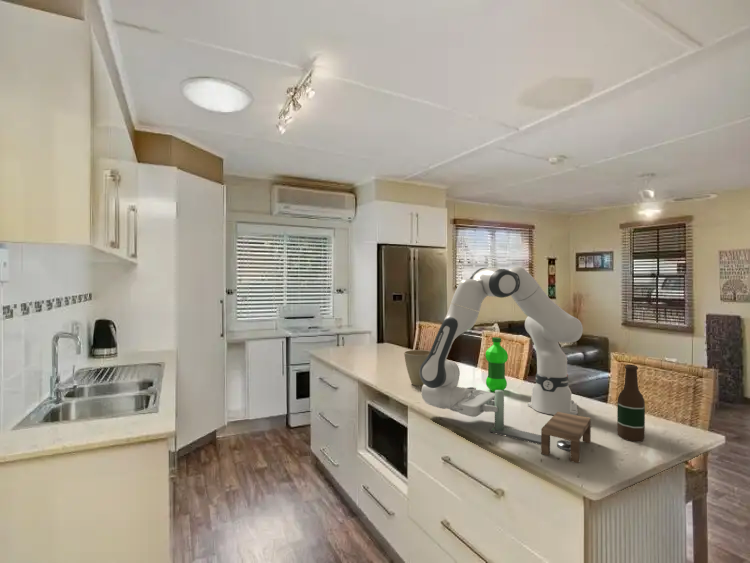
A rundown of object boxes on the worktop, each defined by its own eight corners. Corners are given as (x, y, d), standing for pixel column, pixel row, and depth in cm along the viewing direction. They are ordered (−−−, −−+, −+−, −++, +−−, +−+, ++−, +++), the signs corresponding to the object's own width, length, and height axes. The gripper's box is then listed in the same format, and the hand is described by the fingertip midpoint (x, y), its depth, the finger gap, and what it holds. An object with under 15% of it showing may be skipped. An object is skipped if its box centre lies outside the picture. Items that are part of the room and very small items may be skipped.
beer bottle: (614, 431, 136) (615, 362, 136) (641, 435, 133) (641, 364, 133) (619, 440, 129) (620, 366, 129) (647, 443, 126) (648, 368, 126)
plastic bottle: (482, 387, 192) (482, 336, 192) (503, 387, 192) (503, 336, 193) (488, 393, 182) (489, 339, 182) (511, 393, 182) (511, 339, 183)
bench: (557, 433, 134) (557, 411, 134) (590, 441, 127) (590, 418, 127) (541, 453, 118) (541, 428, 118) (578, 463, 112) (578, 436, 112)
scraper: (490, 432, 134) (490, 391, 135) (496, 427, 139) (496, 388, 139) (542, 445, 124) (542, 401, 124) (547, 439, 129) (547, 397, 129)
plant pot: (418, 378, 209) (418, 348, 209) (439, 384, 197) (440, 352, 197) (397, 383, 199) (397, 351, 199) (418, 389, 188) (418, 356, 188)
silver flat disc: (559, 443, 127) (559, 438, 127) (578, 447, 123) (578, 443, 123) (555, 448, 122) (555, 444, 122) (574, 453, 119) (574, 449, 119)
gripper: (449, 398, 136) (488, 405, 127) (474, 386, 152) (510, 392, 143) (449, 416, 136) (488, 425, 127) (474, 402, 152) (510, 409, 143)
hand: (500, 407), depth 135 cm, fingers closed on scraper, 3 cm apart
